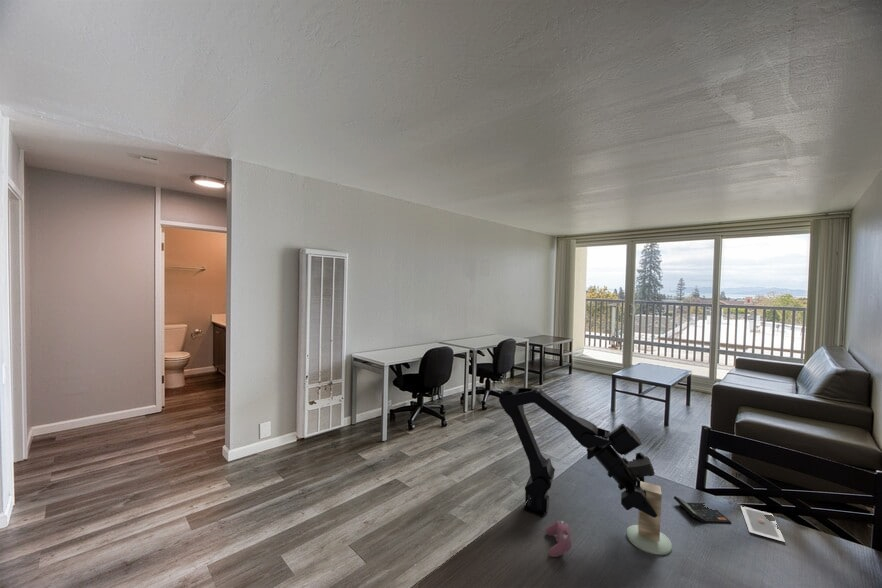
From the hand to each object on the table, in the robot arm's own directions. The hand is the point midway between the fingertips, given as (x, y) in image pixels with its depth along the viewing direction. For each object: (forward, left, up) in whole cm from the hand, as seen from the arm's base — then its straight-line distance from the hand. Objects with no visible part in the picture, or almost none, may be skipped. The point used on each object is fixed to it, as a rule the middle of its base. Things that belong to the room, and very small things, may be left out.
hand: (655, 511), depth 101 cm
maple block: (-1, 0, -7) cm, 7 cm away
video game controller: (-22, -17, -9) cm, 29 cm away
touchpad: (+27, +28, -9) cm, 40 cm away
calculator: (+12, +24, -9) cm, 28 cm away
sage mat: (-1, 0, -9) cm, 9 cm away
